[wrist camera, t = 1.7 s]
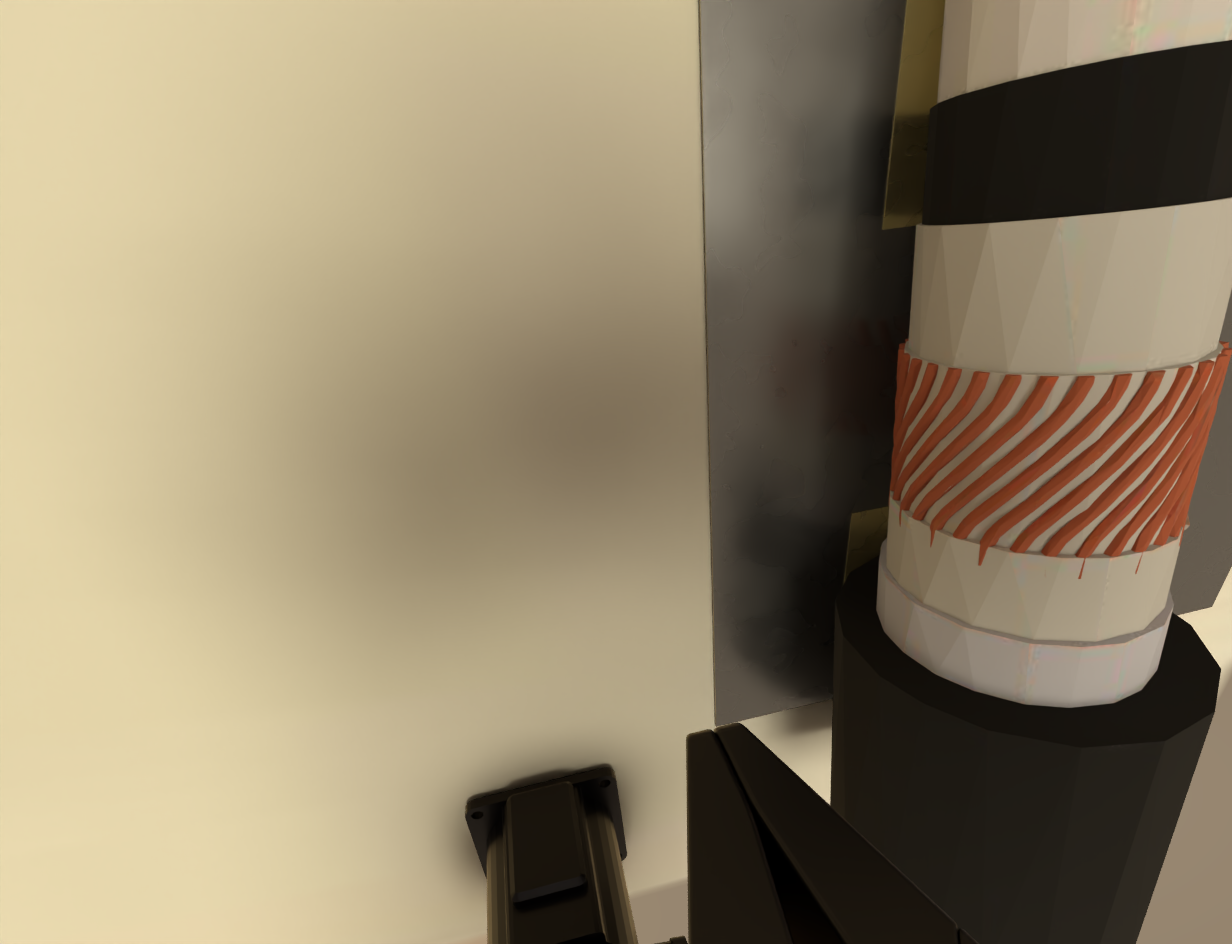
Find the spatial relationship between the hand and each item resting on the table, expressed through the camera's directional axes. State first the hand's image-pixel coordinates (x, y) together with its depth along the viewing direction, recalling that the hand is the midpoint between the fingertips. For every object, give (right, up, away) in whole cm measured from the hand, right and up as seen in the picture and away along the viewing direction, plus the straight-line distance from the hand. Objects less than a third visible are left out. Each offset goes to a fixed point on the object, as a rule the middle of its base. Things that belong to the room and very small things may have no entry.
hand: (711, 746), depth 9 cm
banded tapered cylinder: (+9, +7, +12) cm, 17 cm away
